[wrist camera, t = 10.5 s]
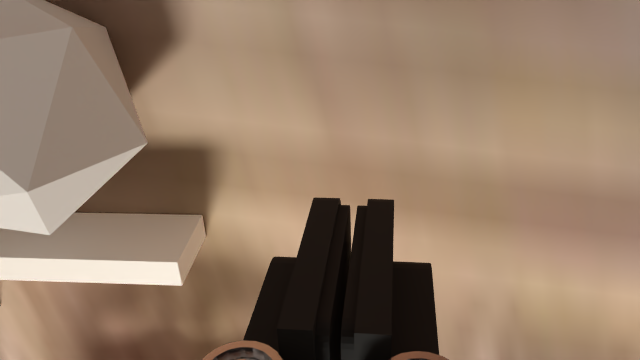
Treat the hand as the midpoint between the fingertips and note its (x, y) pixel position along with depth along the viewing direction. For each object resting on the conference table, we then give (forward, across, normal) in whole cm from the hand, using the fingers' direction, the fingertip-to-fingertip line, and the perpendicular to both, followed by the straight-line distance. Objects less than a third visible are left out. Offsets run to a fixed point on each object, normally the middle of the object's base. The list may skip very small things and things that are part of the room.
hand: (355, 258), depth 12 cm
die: (+11, +13, -1) cm, 17 cm away
